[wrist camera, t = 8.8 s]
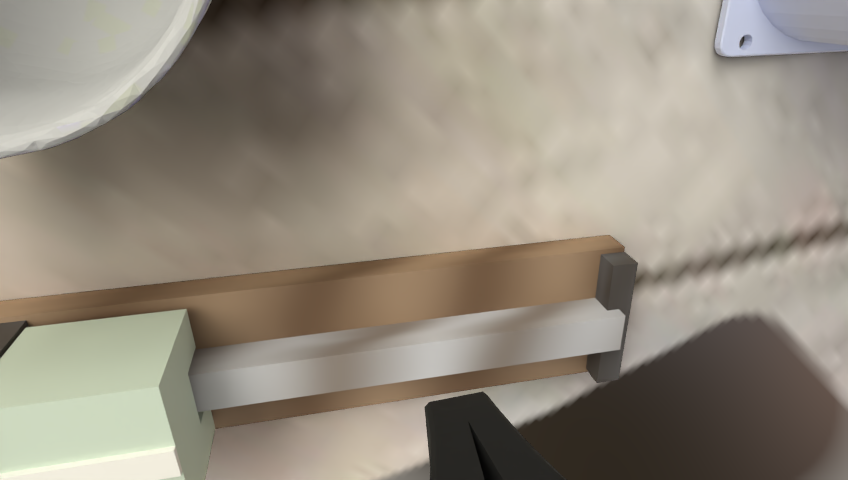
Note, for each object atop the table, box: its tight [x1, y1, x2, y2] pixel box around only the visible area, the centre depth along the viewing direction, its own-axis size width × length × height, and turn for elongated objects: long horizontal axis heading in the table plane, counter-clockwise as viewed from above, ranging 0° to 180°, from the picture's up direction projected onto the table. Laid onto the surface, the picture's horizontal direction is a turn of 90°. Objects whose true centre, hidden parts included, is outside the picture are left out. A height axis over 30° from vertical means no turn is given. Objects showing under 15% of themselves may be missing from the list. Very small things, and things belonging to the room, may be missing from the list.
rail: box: [0, 235, 638, 429], centre depth 19 cm, size 24×6×6 cm, turn 91°
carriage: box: [0, 309, 215, 480], centre depth 17 cm, size 5×5×4 cm
